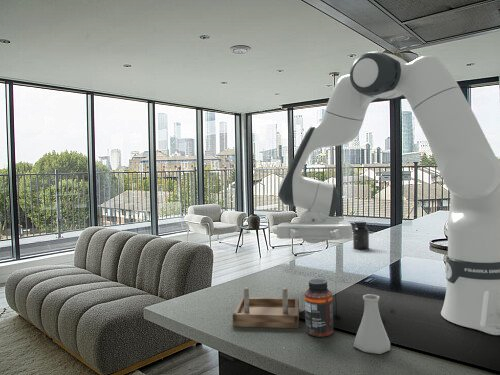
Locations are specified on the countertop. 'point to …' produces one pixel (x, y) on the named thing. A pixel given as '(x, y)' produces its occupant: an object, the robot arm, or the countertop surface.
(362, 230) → the supplement bottle
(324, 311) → the supplement bottle
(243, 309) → the tray
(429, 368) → the countertop surface
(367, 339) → the flask
